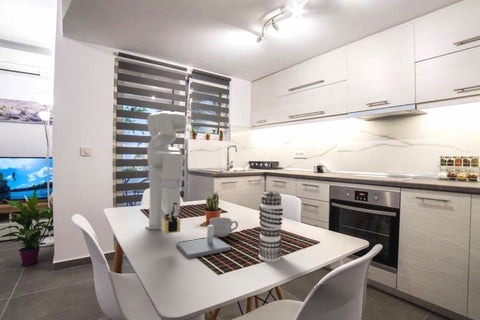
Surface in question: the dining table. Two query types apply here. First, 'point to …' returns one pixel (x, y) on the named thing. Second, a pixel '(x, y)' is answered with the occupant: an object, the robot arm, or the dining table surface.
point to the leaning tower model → (270, 226)
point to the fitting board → (203, 245)
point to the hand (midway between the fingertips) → (170, 228)
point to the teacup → (222, 226)
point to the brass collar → (166, 225)
